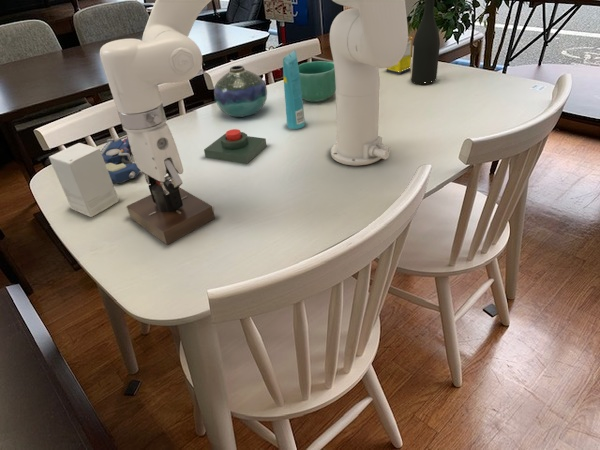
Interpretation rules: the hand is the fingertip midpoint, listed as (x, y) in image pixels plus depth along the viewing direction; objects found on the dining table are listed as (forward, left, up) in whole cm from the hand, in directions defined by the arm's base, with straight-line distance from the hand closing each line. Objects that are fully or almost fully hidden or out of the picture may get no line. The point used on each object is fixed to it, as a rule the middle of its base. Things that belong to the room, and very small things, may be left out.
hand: (168, 203), depth 89 cm
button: (+13, -27, 0) cm, 30 cm away
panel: (0, 0, -4) cm, 4 cm away
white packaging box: (+18, +8, -4) cm, 20 cm away
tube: (+12, -47, -4) cm, 49 cm away
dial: (0, 0, 0) cm, 0 cm away
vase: (+32, -45, -4) cm, 55 cm away
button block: (+13, -27, -4) cm, 30 cm away
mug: (+22, -68, -4) cm, 72 cm away
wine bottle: (+3, -96, -4) cm, 96 cm away
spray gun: (+30, -6, -4) cm, 31 cm away
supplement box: (+16, -101, -4) cm, 102 cm away
